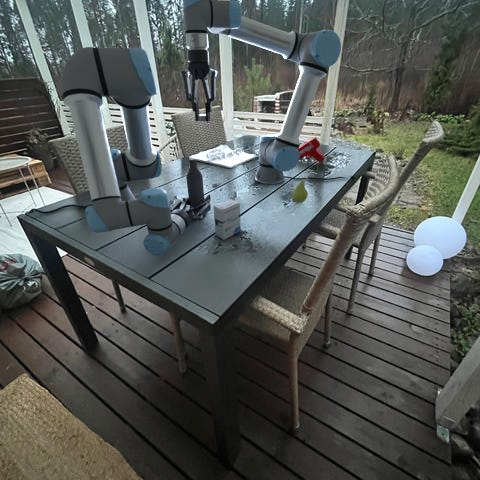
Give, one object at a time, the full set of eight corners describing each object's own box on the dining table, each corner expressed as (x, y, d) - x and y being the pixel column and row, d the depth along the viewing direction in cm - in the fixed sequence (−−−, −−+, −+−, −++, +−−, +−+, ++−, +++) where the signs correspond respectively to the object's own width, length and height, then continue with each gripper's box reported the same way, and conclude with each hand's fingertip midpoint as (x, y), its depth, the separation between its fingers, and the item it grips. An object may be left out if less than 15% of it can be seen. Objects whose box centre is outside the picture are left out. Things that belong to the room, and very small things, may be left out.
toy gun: (328, 157, 168) (316, 136, 164) (328, 158, 165) (315, 137, 161) (303, 172, 178) (290, 152, 174) (302, 174, 175) (289, 154, 171)
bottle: (207, 212, 113) (202, 156, 101) (203, 219, 108) (198, 161, 96) (193, 212, 114) (186, 156, 101) (189, 218, 109) (182, 161, 96)
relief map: (230, 168, 162) (230, 159, 159) (189, 158, 180) (188, 150, 177) (256, 157, 180) (256, 149, 177) (216, 149, 198) (215, 142, 195)
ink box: (232, 226, 103) (231, 197, 97) (241, 231, 100) (241, 202, 94) (214, 235, 98) (212, 205, 92) (223, 240, 95) (222, 209, 89)
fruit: (288, 200, 123) (290, 174, 116) (302, 197, 125) (305, 172, 119) (296, 206, 118) (299, 179, 111) (310, 203, 120) (314, 177, 114)
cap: (196, 121, 107) (196, 115, 106) (199, 119, 110) (199, 114, 109) (206, 121, 106) (205, 115, 105) (209, 119, 109) (208, 114, 108)
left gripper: (153, 229, 97) (181, 202, 116) (203, 236, 93) (224, 207, 112) (149, 210, 93) (179, 186, 112) (201, 216, 89) (223, 190, 108)
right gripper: (170, 49, 94) (179, 121, 107) (217, 48, 91) (220, 123, 103) (180, 50, 100) (187, 118, 113) (223, 49, 97) (225, 120, 109)
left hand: (201, 196), depth 112 cm, fingers closed on bottle, 6 cm apart
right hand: (202, 120), depth 108 cm, fingers closed on cap, 4 cm apart
